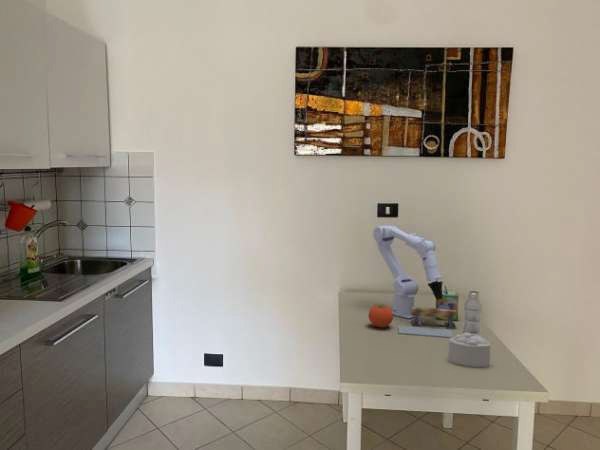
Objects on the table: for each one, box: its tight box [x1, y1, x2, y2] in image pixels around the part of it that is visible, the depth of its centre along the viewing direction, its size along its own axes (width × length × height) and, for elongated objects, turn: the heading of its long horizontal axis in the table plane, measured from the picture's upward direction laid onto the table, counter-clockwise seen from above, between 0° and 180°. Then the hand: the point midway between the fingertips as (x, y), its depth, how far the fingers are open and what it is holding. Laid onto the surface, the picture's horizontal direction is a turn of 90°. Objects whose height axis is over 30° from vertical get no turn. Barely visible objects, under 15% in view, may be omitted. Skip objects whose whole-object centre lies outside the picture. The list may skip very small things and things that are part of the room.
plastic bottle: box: [462, 290, 483, 336], centre depth 182 cm, size 6×7×20 cm
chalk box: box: [435, 284, 459, 322], centre depth 216 cm, size 9×9×15 cm
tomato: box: [368, 304, 394, 328], centre depth 201 cm, size 10×10×10 cm
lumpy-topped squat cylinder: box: [447, 332, 491, 368], centre depth 165 cm, size 10×13×9 cm
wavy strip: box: [412, 306, 456, 319], centre depth 204 cm, size 18×3×3 cm, turn 78°
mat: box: [397, 325, 454, 339], centre depth 195 cm, size 21×9×1 cm, turn 78°
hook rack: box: [410, 311, 457, 330], centre depth 204 cm, size 18×6×6 cm, turn 78°
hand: (439, 299), depth 203 cm, fingers open, 7 cm apart
